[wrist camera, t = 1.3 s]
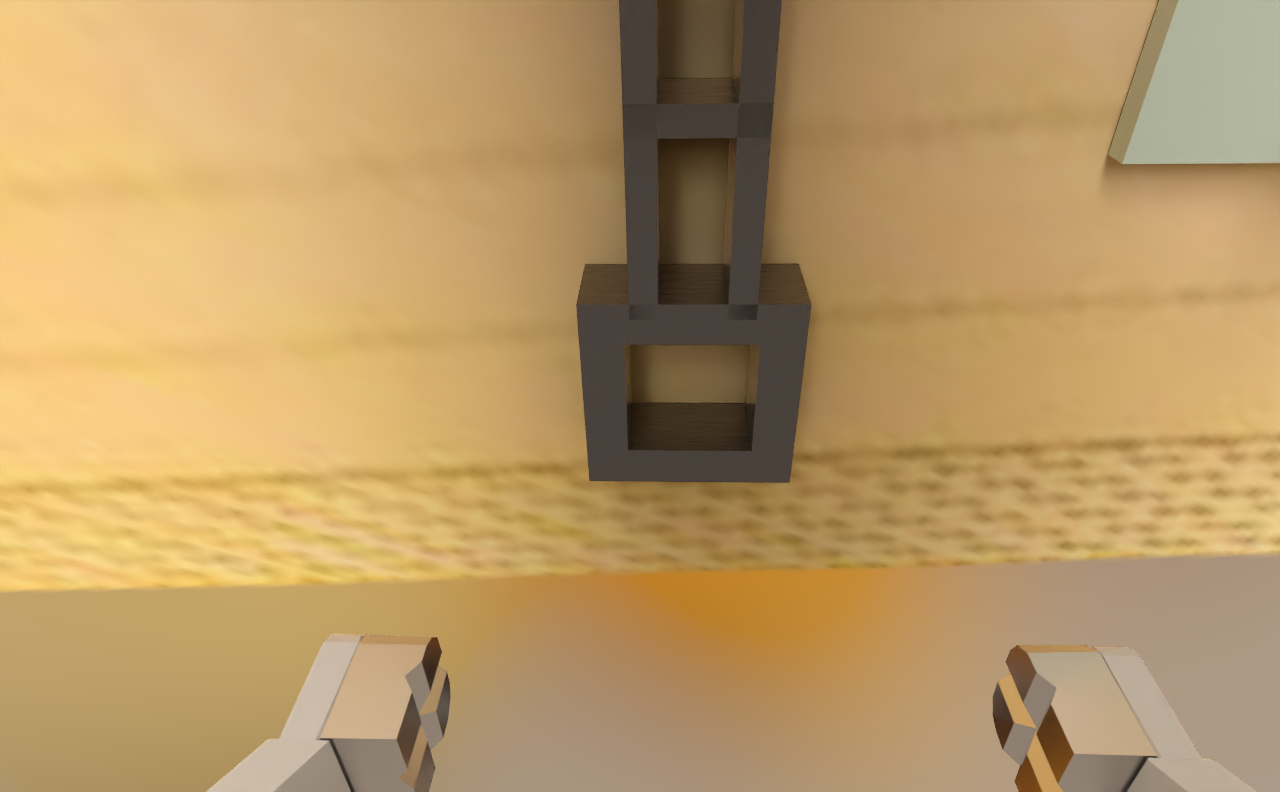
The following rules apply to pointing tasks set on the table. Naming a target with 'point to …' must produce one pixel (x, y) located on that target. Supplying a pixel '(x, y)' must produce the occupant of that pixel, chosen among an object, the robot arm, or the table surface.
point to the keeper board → (1205, 86)
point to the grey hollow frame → (695, 277)
